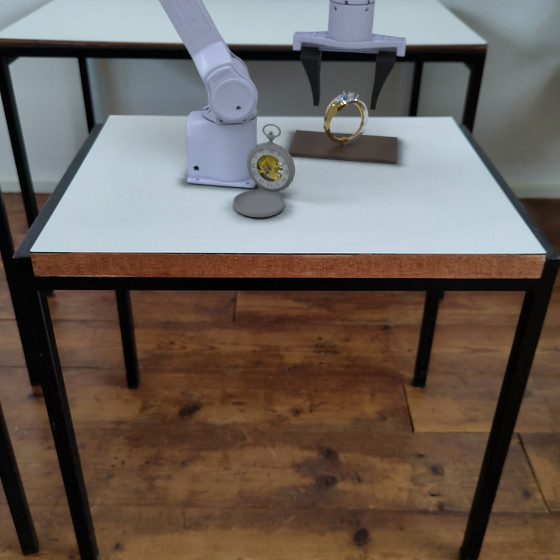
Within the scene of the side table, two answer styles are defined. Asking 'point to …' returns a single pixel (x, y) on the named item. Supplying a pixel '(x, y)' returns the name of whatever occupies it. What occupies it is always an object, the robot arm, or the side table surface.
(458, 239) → the side table surface
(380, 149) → the mat
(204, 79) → the robot arm
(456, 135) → the side table surface
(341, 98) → the ring
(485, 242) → the side table surface
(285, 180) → the pocket watch
